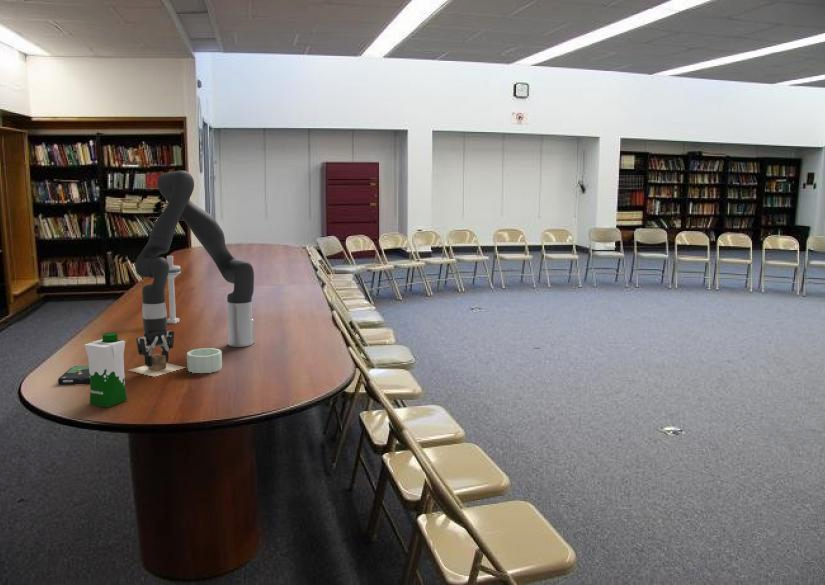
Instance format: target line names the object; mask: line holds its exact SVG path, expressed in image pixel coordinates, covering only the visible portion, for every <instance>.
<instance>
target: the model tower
mask: <svg viewBox="0 0 825 585" xmlns="http://www.w3.org/2000/svg"><path fill="white" fill-rule="evenodd" d="M166 260H167V262H168V264H169V273H168V277H167V283H168V286H167V289H168V302H169V303H168V305H169V306H168V307H169V318H168V317H167V324H177V322H178V323H179V322H180V318H179V317H176V315H177V314H176V297H175V296H176V295H175V294H176V293H175V290H176V289H175V278H176V277H178V276H179V275H180V274H181V272H182V271H181V266H180V265H179V264H177V265H176V264H174V256H173V255H167V256H166Z"/></svg>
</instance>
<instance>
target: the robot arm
mask: <svg viewBox="0 0 825 585" xmlns="http://www.w3.org/2000/svg"><path fill="white" fill-rule="evenodd" d="M156 183H157V189H158V191H159V192H160V194H161V196H162V197H163V198H164V199H165V200H166V201H167V205H166V207H165V208H164V209H163V211H162V212H161V214H160V215H159V216H158V217H157V219H156V221H155V222H154V224H153V226H152V229H151V231H150V235H149V238H148V241H147V243H146V245H145V246H144V247H143V249H142V251H141V252H140V254H139V255H138V257H137V259H136V261H135V264H134V265H135V266H134V267H135V272H136V274H137V275H138V276H139V277H142V278H149V279H150V278H151V279H152V278H153V281H152V283H151V284H150V283H149V284H146V285H144V286H143V287H142V290H141V291H142V293H141V294H142V296H141V297H142V308H141V309H142V310H141V311H142V312H141V313H142V330H143V331H144V334H143V336H141V337H136V338H135V339H136V340H135V341H136V346H137V352H138V355H139V356H143V357H144V364H145V365H146V366H148V367H151V366H152V356H151V355H152V354H153V350H155V348H156V347H157V346H159V347H160V350H161V355H165V356H166V363H168V362H169V358H170V357H169V351H170V349H173V348H174V345H175V344H174V343H175V331H173V330H170V329H169V330H167V329H168V323H167V319H168V316H167V306H166V298H165V297H166V292H165V291H166V286H167V282H168V278H167V277H168V273H169V264H168V262H167V258H165V257H162V256H159V255H164V254H166V253H168V252H169V250H170V247H171V245H172V241H173V237H174V235H175V230H176V228H177V226H178V223H179V221H180V219H182V221H184V222H185V224H186V225H187V226H188V229H190V230H191V232H192V233H193V235H194V236H195V237H196V239H197V240H198V242H199V243H200V244H201V245H202V247H203V248H204V250H205V251H206V252H207V254H208V255H209V256H210V257H211V259H212V260H213V263H215V265H216V267H217V269H218V272H219V273H220V274H221V276H222V277H223V279H224V280H225V281H226V282H228V283H230V284H233V291H232V292H231V293H230V292H229V293H228V294H227V296H226V301H227V304H226V305H227V306H226V307H227V332H228V333H227V335H228V336H227V338H228V341H227V342H228V346H229V347H234V348H235V347H236V348H243V347H249V346H252V345H253V344H255V320H254V319H253V308H252V306H253V305H252V304H253V300H252V299H253V298H252V297H253V295H254V287H255V285H254V284H255V271H254V267H253V265H252V264H251V263H250V262H248V261H246V260H245V261H244V260H238V259H236V258H235V257H234V256H233V255H232V254H231V253H230V251H229V250H228V248H227V246H226V239H225V234H224V230H222V228H221V226H220V225H219V223H218V222H217V220H215V217H213V216H212V215H211V214H209V212H207V211H206V210H204V209H202V208H201V207H199V206H198V205H197V204H195V203H194V202H193V201H191V199H190V198H191V196H192V195H193V192H194V190H195V189H194V188H195V180H194V178H193V175H192V174H191V173H190V172H188V171H186V170H176V171H169V172H165V173H161V175H159V176H158V178H157V182H156ZM145 365H144V366H145Z"/></svg>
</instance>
